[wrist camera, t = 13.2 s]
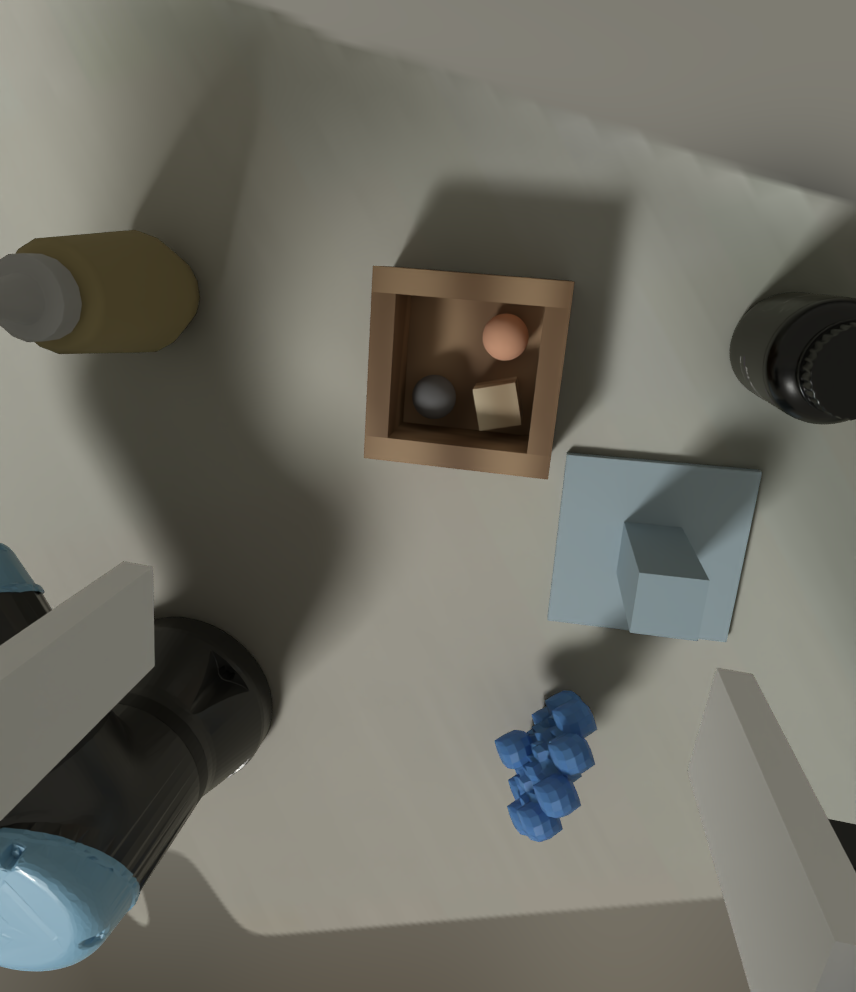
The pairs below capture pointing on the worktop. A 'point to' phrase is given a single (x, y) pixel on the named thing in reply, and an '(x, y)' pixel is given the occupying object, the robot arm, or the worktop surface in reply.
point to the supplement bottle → (800, 355)
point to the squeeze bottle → (97, 293)
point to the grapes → (548, 764)
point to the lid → (651, 545)
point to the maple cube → (498, 403)
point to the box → (462, 367)
